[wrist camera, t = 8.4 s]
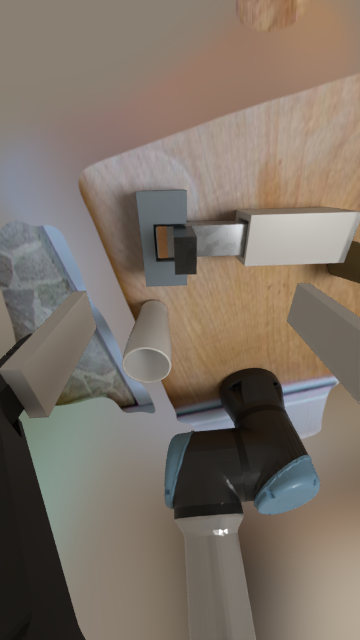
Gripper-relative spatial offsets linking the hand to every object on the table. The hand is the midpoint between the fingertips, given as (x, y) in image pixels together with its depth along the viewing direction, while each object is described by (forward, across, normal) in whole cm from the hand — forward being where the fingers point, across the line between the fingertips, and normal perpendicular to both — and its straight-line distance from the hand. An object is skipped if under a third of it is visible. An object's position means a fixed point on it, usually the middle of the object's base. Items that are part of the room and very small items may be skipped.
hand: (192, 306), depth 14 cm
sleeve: (+24, -16, 0) cm, 29 cm away
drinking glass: (+24, +5, +14) cm, 28 cm away
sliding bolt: (+22, -6, 0) cm, 23 cm away
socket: (+24, +1, 0) cm, 24 cm away
